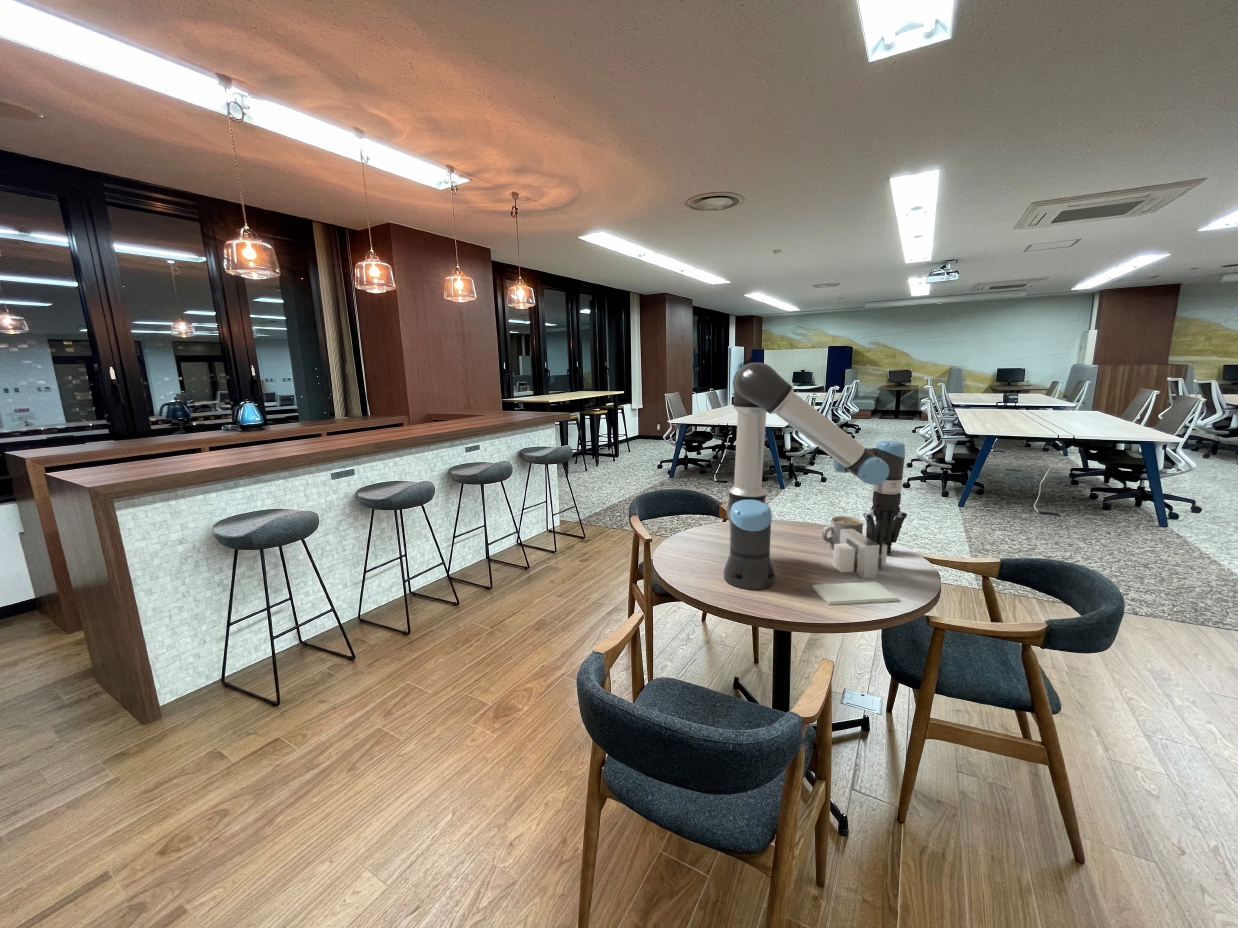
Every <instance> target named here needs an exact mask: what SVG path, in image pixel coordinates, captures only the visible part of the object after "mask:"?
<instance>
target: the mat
mask: <svg viewBox="0 0 1238 928" xmlns="http://www.w3.org/2000/svg"><path fill="white" fill-rule="evenodd" d="M811 589H812V590H814V592H815V593H817V594H818V596H820V598H821V599H823V601H825V603H827V604H828V605H847V604H848V605H849V604H850V605H851V604H867V603H870V602H872V603H889V602H890V601H893V602H898V600H899V599H898V597H897V596H896V595H894V593H892V592H890V591H889V590H888V589H887V588H885V587H884V586H883V585H881V584H880V583H878V582H877V581H865V582H848V583H847V582H846V583H845V582H843V583H824V584H822V583H821V584H812V585H811ZM870 604H871V603H870Z"/></svg>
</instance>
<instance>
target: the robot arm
mask: <svg viewBox="0 0 1238 928" xmlns="http://www.w3.org/2000/svg"><path fill="white" fill-rule="evenodd" d="M732 387H733V403H732V404H733V406H732V407H733V409H735V411H737V422H736V423H737V424H736V441H735V443H736V444H735V462H734V481H733V482H734V483H733V486H732V487H731V488H729V490H728V502H727V505H726V517H727V519H728V523H729V528H730V529H729V531H730V535H729V539H730V540H729V542H730V543H729V554H728V558H727V560H726V563H725V565H724V567H723V579H724V581H725V582H726V583H728V584H730V585H732V586H733V587H737V588H740V589H745V590H763V589H768V588H771V587H772V586H774V584H775V583H776V572H775V568H774V566H773V563H772V560H771V533H772V532H771V530H772V519H773V515H772V510H771V507H770V506H769V505H768V504H767V503H766V497H767V496H766V495H767V492H766V490H765V489H764V488H762V483H763V482H762V481H763V480H762V479H763V467H764V453H765V438H766V437H765V436H766V423H767V421H766V420H767V413H768V414H769V415H772V414H773V415H774V414H775V415H776V416H778V417H779V418H780V419H782V420H783V421H784V422H786V423H787V424H788V425H790V426H791V427H792V428H793V429H795V430H796V431H797V432H799V433H800V434H801V435H802V436H804V437H805V438H806V439H808V440H809V441H810V442H812V443H813V444H814V445H816V446H817V447H818V448H819V449H821V450H822V451H823V452H825V453H826V454H827V455H829V456H830V457H831V458H832V462H833V468H834V470H835V471H836V473H844V474H846V473H850V474H851V475H853V476H855V477H857V478H858V479H860V481H862V482H863V483H864V484H868V485H872V486H873V487H872V488H873V490H874V491H873V492H872V500H871V501H872V506H871V508H870V511H868V512H864V513H862V516H863V518H864V519H865V521H866V530H867V529H868V535H869V539H870V540H872V541H874V542H875V543H877V544H879V545H880V546H879V558H880V559H881V560H882V566H886V564H887V555H889V554H888V553H889V547H890V546H891V547H892V545H893V543H894V544H895V543H897V541H898V538H899V536H900V532H901V529H902V526H903V524H904V521H905V519H906V518H907V516H908V513H906V512H903V511H902V510H901V508H900V505H901V497H902V493H901V492H902V488H903V478H904V477H903V476H904V475H903V474H904V466H905V459H906V446H905V444H904V443H903V442H902V441H901V442H900V441H897V440H896V441H895V440H880V441H878V442H877V443H876V445H875V447H873V448H872V447H871V448H870V447H869V448H867V447H865V446H863V445H862V444H861V443H860V442H859V441H857V440H856V439H855V438H853V437H852V436H851V435H850V434H848V433H847V432H846V431H844V430H843V429H842V428H841V427H839V426H838V425H837V424H835V423H834V422H833V421H831V420H830V419H829V418H827V417H826V416H825V415H824V414H822V413H821V412H819V410H817V409H816V408H814V406H812V405H811V404H809V403H808V402H807V401H805V399H803V398H802V397H800V396H799V395H798V394H796V393H795V392H794V391H795V390H794V387H793V386H792V385H791V384H790V383H789V382H787V381H786V379H784V378H783V377H782V376H781V375H779V373H778V372H777V371H776V370H775V369H774V368H773V367H772V366H770V365H769V364H767V363H764V362H749V363H747V364H744V365H742V366H741V367H740V368H738V370H737V371H736V372H735V375H734V377H733V380H732ZM874 517H875V520H874ZM875 524H876V529H875Z"/></svg>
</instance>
